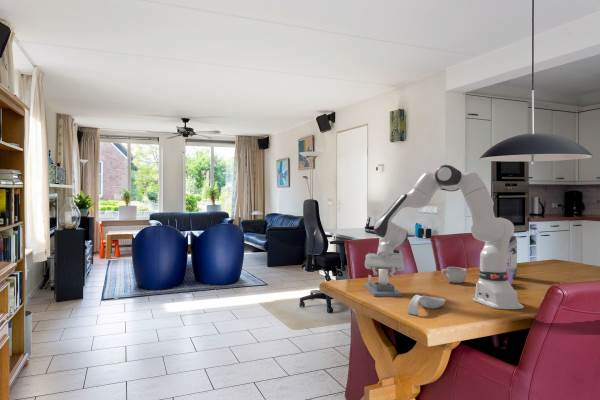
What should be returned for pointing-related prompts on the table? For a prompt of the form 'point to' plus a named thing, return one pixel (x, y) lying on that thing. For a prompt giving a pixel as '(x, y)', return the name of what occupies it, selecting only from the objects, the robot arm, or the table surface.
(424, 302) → the grey curved piece
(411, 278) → the table surface
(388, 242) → the robot arm
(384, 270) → the white rectangular block
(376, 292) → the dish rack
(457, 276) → the teacup
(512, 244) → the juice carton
